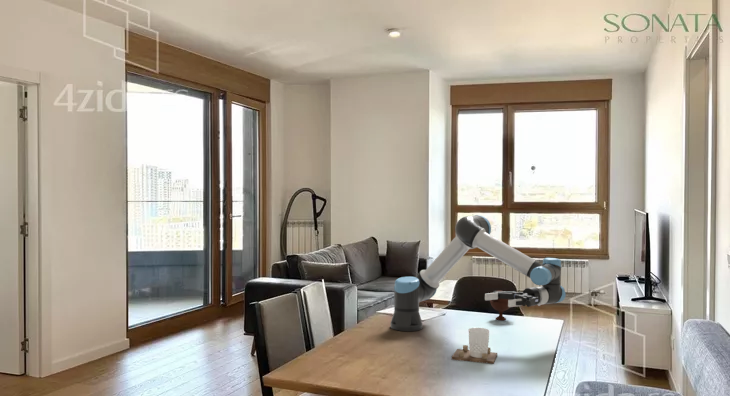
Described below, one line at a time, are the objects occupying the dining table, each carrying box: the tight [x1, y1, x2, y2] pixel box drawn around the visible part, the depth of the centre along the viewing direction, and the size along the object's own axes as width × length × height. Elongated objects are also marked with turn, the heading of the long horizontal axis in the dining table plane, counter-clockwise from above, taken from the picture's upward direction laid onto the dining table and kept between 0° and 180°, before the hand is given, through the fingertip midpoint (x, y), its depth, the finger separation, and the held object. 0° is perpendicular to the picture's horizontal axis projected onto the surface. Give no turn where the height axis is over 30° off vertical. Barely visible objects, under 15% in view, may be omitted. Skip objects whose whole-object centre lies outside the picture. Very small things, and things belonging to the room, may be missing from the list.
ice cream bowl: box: [489, 289, 511, 322], centre depth 292 cm, size 11×11×15 cm
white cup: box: [468, 327, 490, 358], centre depth 225 cm, size 8×8×10 cm
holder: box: [451, 344, 498, 365], centre depth 226 cm, size 16×12×3 cm
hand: (496, 300), depth 234 cm, fingers open, 13 cm apart
